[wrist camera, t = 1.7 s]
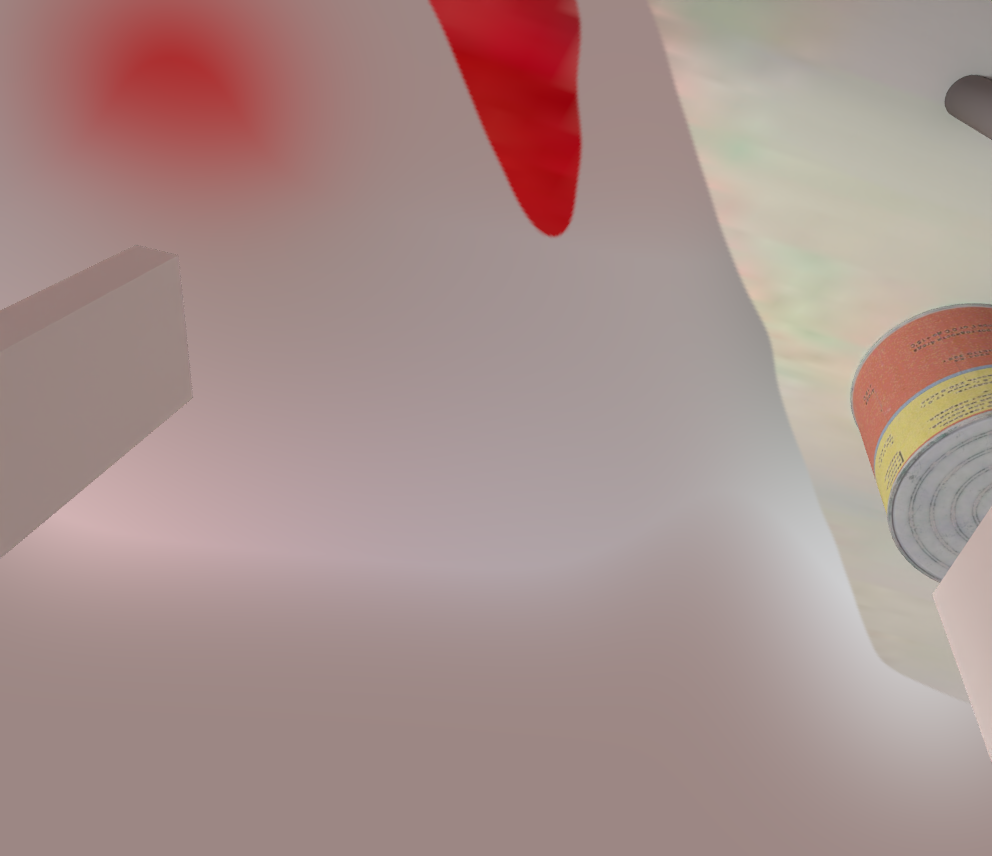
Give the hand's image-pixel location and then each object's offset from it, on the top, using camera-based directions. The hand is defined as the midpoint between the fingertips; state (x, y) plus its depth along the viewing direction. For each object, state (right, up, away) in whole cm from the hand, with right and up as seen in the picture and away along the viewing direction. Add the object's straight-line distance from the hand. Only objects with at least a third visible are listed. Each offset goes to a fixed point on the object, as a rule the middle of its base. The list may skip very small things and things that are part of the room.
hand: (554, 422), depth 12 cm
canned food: (+27, +2, +34) cm, 43 cm away
